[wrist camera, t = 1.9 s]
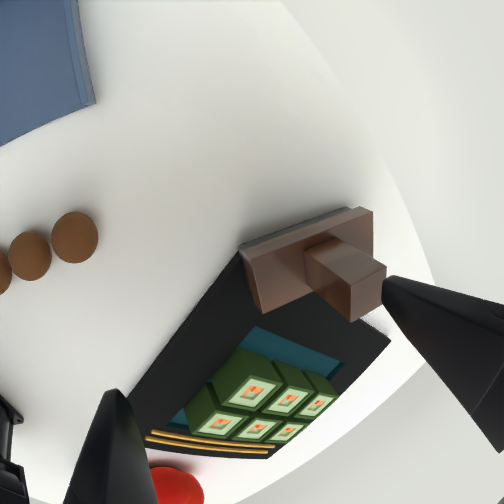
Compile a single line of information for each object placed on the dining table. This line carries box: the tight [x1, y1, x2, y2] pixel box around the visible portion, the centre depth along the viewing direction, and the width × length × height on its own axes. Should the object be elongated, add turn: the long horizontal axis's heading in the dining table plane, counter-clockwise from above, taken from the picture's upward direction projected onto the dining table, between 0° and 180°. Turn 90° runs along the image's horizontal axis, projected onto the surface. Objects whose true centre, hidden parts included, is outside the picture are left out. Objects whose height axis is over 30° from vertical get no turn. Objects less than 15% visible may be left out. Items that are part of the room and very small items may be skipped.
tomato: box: [150, 467, 204, 504], centre depth 30 cm, size 11×11×8 cm
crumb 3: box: [51, 212, 98, 263], centre depth 16 cm, size 3×3×3 cm
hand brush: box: [238, 206, 387, 322], centre depth 21 cm, size 4×10×8 cm, turn 101°
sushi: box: [127, 243, 391, 459], centre depth 29 cm, size 25×25×4 cm
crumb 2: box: [8, 232, 51, 281], centre depth 15 cm, size 3×3×3 cm
